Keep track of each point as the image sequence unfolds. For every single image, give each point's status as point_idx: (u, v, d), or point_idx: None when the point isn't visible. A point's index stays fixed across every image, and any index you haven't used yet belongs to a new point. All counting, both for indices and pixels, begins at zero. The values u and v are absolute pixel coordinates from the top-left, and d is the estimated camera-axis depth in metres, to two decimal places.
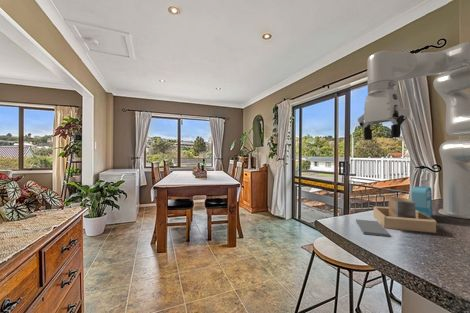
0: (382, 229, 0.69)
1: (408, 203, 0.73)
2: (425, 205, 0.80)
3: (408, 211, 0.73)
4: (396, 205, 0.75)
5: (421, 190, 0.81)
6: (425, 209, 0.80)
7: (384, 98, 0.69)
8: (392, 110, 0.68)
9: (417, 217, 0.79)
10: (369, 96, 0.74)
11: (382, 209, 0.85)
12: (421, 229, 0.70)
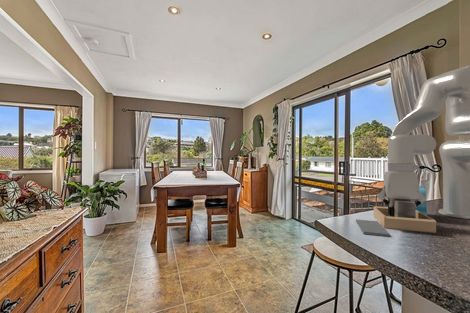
0: (382, 229, 0.69)
1: (408, 203, 0.73)
2: (425, 205, 0.81)
3: (408, 211, 0.73)
4: (396, 205, 0.75)
5: (420, 190, 0.82)
6: (425, 209, 0.81)
7: (413, 180, 0.74)
8: None
9: (417, 217, 0.79)
10: (395, 174, 0.76)
11: (382, 209, 0.85)
12: (421, 229, 0.70)
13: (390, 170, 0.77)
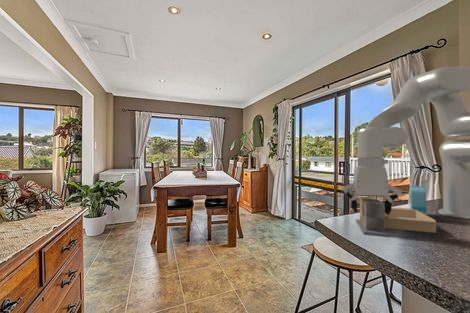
0: None
1: (376, 204, 0.68)
2: (425, 205, 0.81)
3: (376, 212, 0.68)
4: (365, 206, 0.70)
5: (420, 190, 0.82)
6: (425, 209, 0.81)
7: (382, 175, 0.70)
8: (388, 188, 0.70)
9: (417, 217, 0.79)
10: (364, 169, 0.72)
11: None
12: (421, 229, 0.70)
13: (359, 165, 0.73)
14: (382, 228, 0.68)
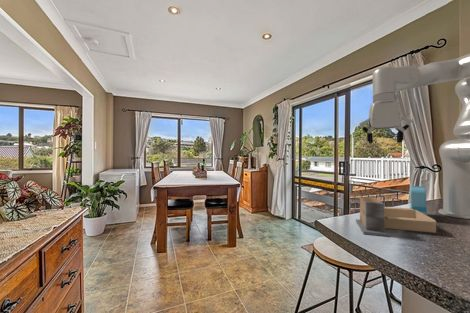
0: None
1: (376, 204, 0.68)
2: (425, 205, 0.81)
3: (376, 212, 0.68)
4: (365, 206, 0.70)
5: (420, 190, 0.82)
6: (425, 209, 0.81)
7: (395, 108, 0.80)
8: (401, 119, 0.80)
9: (417, 217, 0.79)
10: (379, 104, 0.82)
11: None
12: (421, 229, 0.70)
13: (374, 101, 0.83)
14: (382, 228, 0.68)
